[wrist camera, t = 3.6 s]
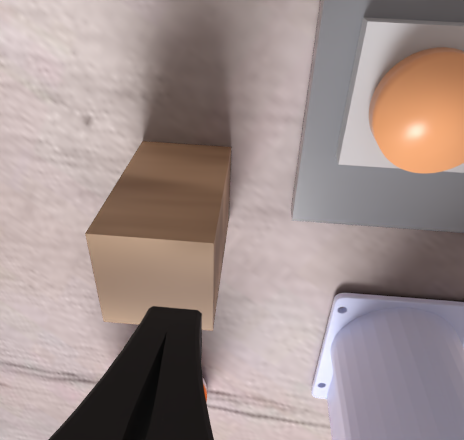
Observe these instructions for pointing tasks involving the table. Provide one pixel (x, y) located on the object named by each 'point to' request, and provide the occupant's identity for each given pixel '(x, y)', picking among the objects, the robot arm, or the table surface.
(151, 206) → the block
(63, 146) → the table surface
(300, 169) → the loading station
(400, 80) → the button
